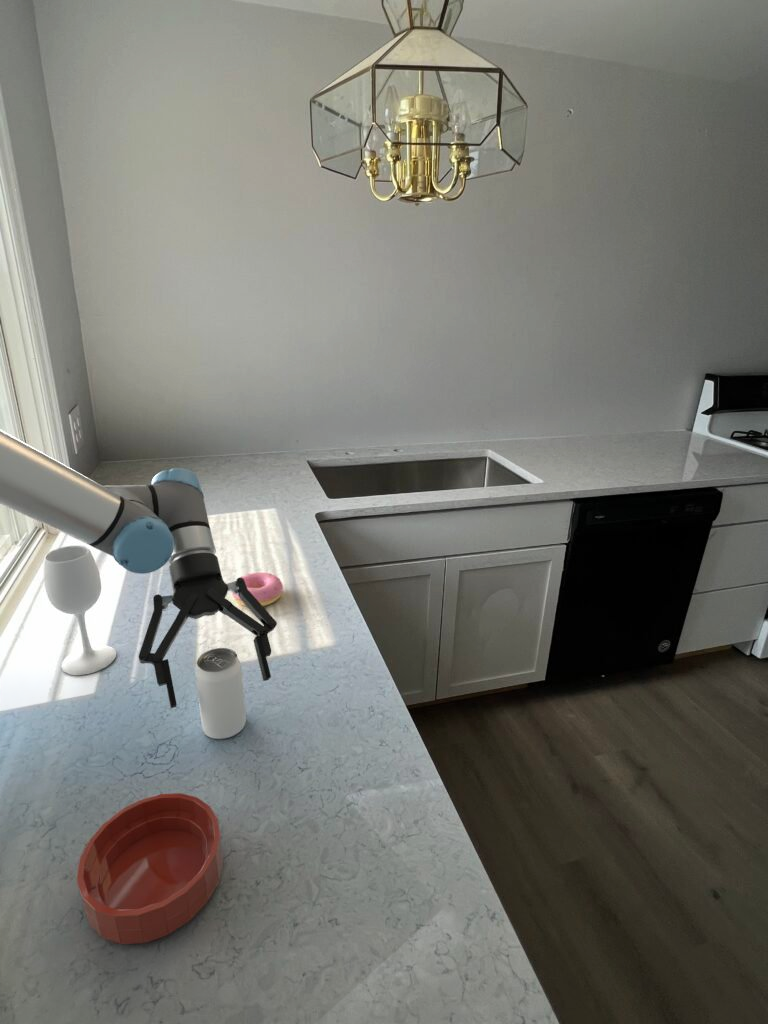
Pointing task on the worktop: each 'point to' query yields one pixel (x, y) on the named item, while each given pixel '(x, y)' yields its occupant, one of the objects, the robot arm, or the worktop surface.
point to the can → (220, 693)
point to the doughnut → (262, 588)
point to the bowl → (150, 868)
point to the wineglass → (76, 602)
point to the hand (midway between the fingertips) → (222, 692)
